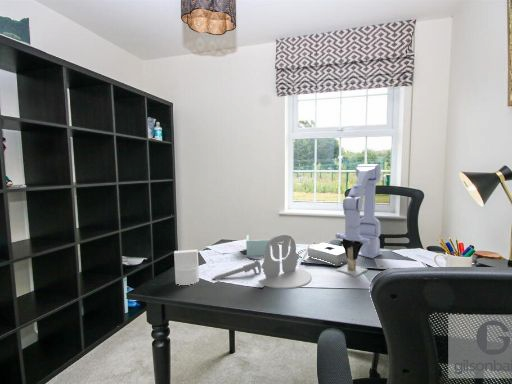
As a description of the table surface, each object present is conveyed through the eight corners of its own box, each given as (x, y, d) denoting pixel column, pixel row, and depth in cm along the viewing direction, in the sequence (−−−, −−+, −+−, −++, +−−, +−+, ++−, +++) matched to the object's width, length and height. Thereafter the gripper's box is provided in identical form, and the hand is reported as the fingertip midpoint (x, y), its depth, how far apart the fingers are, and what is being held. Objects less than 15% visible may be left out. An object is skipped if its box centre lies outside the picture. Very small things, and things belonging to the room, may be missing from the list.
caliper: (260, 272, 116) (259, 258, 116) (260, 273, 115) (260, 259, 115) (211, 280, 110) (210, 264, 110) (211, 281, 109) (211, 265, 109)
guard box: (322, 252, 141) (322, 242, 140) (351, 259, 129) (351, 249, 128) (307, 257, 133) (307, 247, 132) (337, 266, 121) (337, 255, 120)
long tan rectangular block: (350, 267, 117) (350, 246, 116) (355, 268, 115) (356, 247, 114) (347, 268, 115) (347, 247, 115) (352, 270, 114) (352, 249, 113)
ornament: (300, 269, 119) (300, 231, 117) (323, 279, 108) (323, 237, 106) (257, 281, 107) (256, 239, 105) (278, 294, 96) (277, 247, 94)
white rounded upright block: (174, 286, 104) (172, 255, 103) (177, 277, 113) (175, 248, 112) (198, 284, 105) (197, 254, 104) (199, 275, 114) (198, 247, 113)
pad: (347, 265, 122) (347, 263, 122) (367, 270, 115) (367, 269, 115) (336, 270, 116) (336, 269, 116) (356, 276, 109) (356, 275, 109)
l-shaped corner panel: (270, 254, 139) (270, 240, 138) (246, 255, 138) (246, 240, 138) (269, 247, 151) (269, 234, 150) (247, 248, 150) (246, 234, 150)
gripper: (331, 224, 117) (331, 256, 118) (364, 230, 106) (363, 265, 107) (340, 222, 121) (340, 252, 123) (373, 227, 110) (372, 260, 112)
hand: (352, 258), depth 115 cm, fingers closed on long tan rectangular block, 2 cm apart
